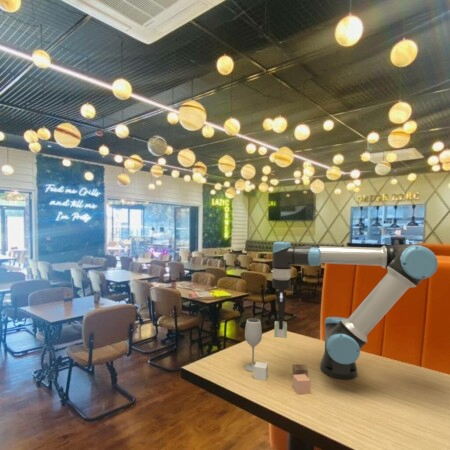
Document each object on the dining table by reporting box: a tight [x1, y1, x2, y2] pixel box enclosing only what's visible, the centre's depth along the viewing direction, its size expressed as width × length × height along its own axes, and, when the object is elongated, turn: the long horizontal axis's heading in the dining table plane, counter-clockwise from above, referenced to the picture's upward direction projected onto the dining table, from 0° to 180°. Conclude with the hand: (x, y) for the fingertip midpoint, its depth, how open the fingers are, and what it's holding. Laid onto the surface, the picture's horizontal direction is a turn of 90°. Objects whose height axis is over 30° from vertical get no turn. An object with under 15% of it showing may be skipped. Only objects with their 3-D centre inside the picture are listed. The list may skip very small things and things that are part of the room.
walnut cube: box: [292, 364, 309, 378], centre depth 125 cm, size 5×5×5 cm
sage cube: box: [273, 320, 288, 339], centre depth 127 cm, size 5×5×5 cm
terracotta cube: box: [292, 374, 311, 395], centre depth 116 cm, size 5×5×5 cm
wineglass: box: [244, 317, 263, 373], centre depth 135 cm, size 8×8×21 cm
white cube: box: [253, 361, 269, 381], centre depth 127 cm, size 5×5×5 cm
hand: (280, 334), depth 127 cm, fingers closed on sage cube, 5 cm apart
